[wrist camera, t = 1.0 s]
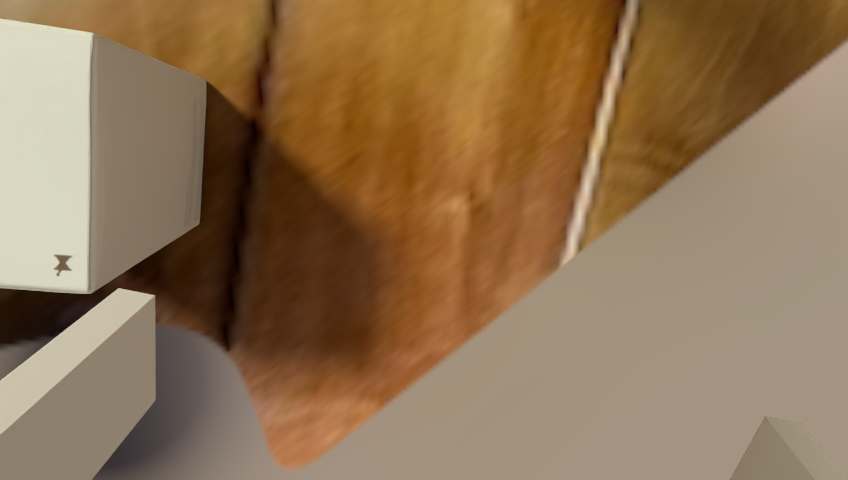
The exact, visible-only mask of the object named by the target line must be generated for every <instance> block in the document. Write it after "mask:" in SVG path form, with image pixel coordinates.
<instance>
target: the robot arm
mask: <svg viewBox="0 0 848 480" xmlns="http://www.w3.org/2000/svg"><path fill="white" fill-rule="evenodd" d="M154 401H155V295H150V294H145V293H140V292H135V291H130V290H125V289H120V288H118V289H117V290H116V291H114V292H113V293H112V294H111V295H109V296H108V297H107V298H106V299H104V300H103V301H102V302H100V303H99V304H98V305H97V306H95V307H94V308H93V309H91V310H90V311H89V312H88V313H86V314H85V315H84V316H82V317H81V318H80V319H79V320H77V321H76V322H75V323H74V324H72V325H71V326H70V327H68V328H67V329H66V330H65V331H63V332H62V333H61V334H59V335H58V336H57V337H56V338H54V339H53V340H52V341H51V342H49V343H48V344H47V345H45V346H44V347H43V348H42V349H40V350H39V351H38V352H36V353H35V354H34V355H33V356H31V357H30V358H29V359H28V360H26V361H25V362H24V363H22V364H21V365H20V366H19V367H17V368H16V369H15V370H14V371H12V372H11V373H10V374H8V375H7V376H6V377H4V378H3V379H2V380H1V381H0V480H91V479H92V478H93V477H94V476H95V475H96V473H97V472H98V471H99V470H100V468H101V467H102V466H103V465H104V464H105V462H106V461H107V460H108V459H109V457H110V456H111V455H112V454H113V452H114V451H115V450H116V449H117V447H118V446H119V445H120V444H121V442H122V441H123V440H124V439H125V437H126V436H127V435H128V433H129V432H130V431H131V430H132V428H133V427H134V426H135V425H136V424H137V422H138V421H139V420H140V419H141V417H142V416H143V415H144V414H145V412H146V411H147V410H148V409H149V407H150V406H151V405H152V404H153V402H154ZM730 480H848V479H847V477H846V476H845V475H844V474H843V473H842V472H841V470H840V469H839V468H838V467H837V466H836V465H835V463H834V462H833V461H832V460H831V459H830V458H829V456H828V455H827V454H826V453H825V452H824V451H823V449H822V448H821V447H820V446H819V445H818V443H817V442H816V441H815V440H814V439H813V438H812V436H811V435H810V434H809V433H808V432H807V431H806V429H804V427H803V426H802V425H801V424H800V423H797V422H792V421H787V420H782V419H777V418H772V417H767V416H766V417H765V418H764V420H763V421H762V423H761V425H760V427H759V428H758V430H757V432H756V434H755V436H754V438H753V439H752V441H751V443H750V445H749V446H748V448H747V450H746V452H745V454H744V455H743V457H742V459H741V461H740V463H739V465H738V466H737V468H736V470H735V472H734V473H733V475H732V477H731V479H730Z"/></svg>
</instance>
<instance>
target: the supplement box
mask: <svg viewBox="0 0 848 480" xmlns="http://www.w3.org/2000/svg"><path fill="white" fill-rule="evenodd" d="M205 116H206V80H205V79H203V78H201V77H198V76H196V75H194V74H191V73H188V72H186V71H184V70H181V69H179V68H176V67H174V66H171V65H169V64H167V63H164V62H162V61H159V60H157V59H155V58H152V57H150V56H147V55H145V54H143V53H140V52H138V51H136V50H133V49H131V48H129V47H126V46H124V45H121V44H119V43H117V42H114V41H111V40H109V39H107V38H104V37H102V36H99V35H96V34H94V33H91V32H85V31H78V30H71V29H64V28H58V27H52V26H46V25H40V24H33V23H27V22H20V21H14V20H7V19H1V18H0V288H9V289H22V290H34V291H47V292H63V293H80V294H91V293H92V292H94V291H96V290H97V289H99V288H100V287H102V286H103V285H105V284H107V283H108V282H110V281H111V280H113V279H114V278H116V277H117V276H119V275H121V274H122V273H124V272H125V271H127V270H128V269H130V268H131V267H133V266H134V265H136V264H138V263H139V262H141V261H142V260H144V259H145V258H147V257H149V256H150V255H152V254H153V253H155V252H156V251H158V250H160V249H161V248H163V247H164V246H166V245H168V244H169V243H171V242H172V241H174V240H175V239H177V238H179V237H180V236H182V235H183V234H185V233H186V232H188V231H189V230H191V229H192V228H194V227H196V226H197V225H199V223H200V211H201V191H202V172H203V153H204V134H205Z"/></svg>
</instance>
